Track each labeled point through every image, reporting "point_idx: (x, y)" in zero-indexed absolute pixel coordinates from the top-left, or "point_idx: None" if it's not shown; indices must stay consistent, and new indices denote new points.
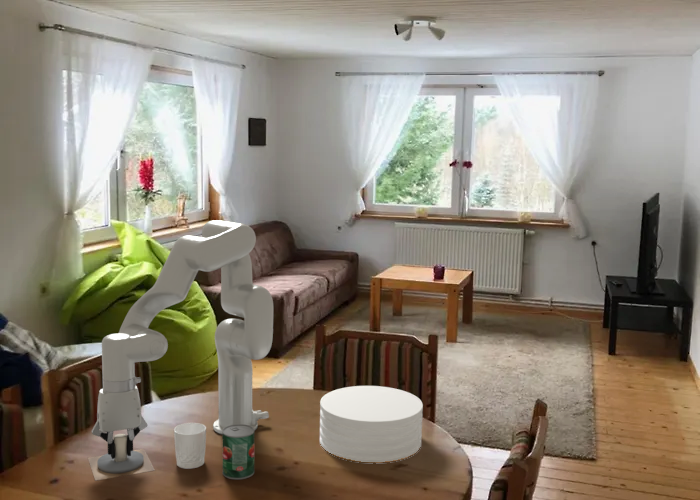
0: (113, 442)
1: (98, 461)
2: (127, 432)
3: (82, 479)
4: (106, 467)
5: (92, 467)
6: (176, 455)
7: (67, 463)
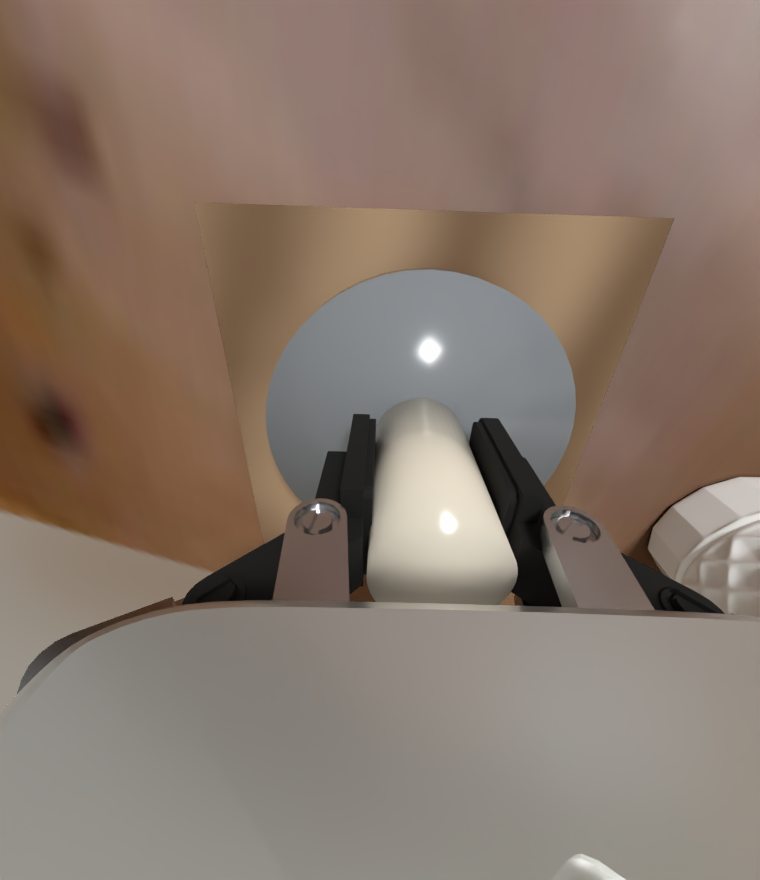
0: (362, 568)
1: (272, 412)
2: (550, 563)
3: (205, 462)
4: None
5: (244, 404)
6: (700, 593)
7: (46, 168)
